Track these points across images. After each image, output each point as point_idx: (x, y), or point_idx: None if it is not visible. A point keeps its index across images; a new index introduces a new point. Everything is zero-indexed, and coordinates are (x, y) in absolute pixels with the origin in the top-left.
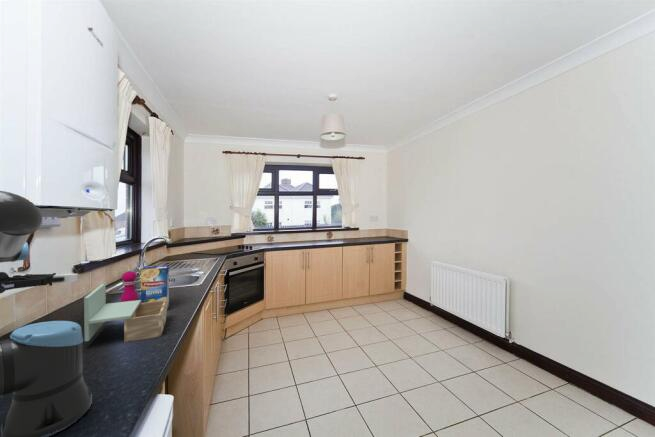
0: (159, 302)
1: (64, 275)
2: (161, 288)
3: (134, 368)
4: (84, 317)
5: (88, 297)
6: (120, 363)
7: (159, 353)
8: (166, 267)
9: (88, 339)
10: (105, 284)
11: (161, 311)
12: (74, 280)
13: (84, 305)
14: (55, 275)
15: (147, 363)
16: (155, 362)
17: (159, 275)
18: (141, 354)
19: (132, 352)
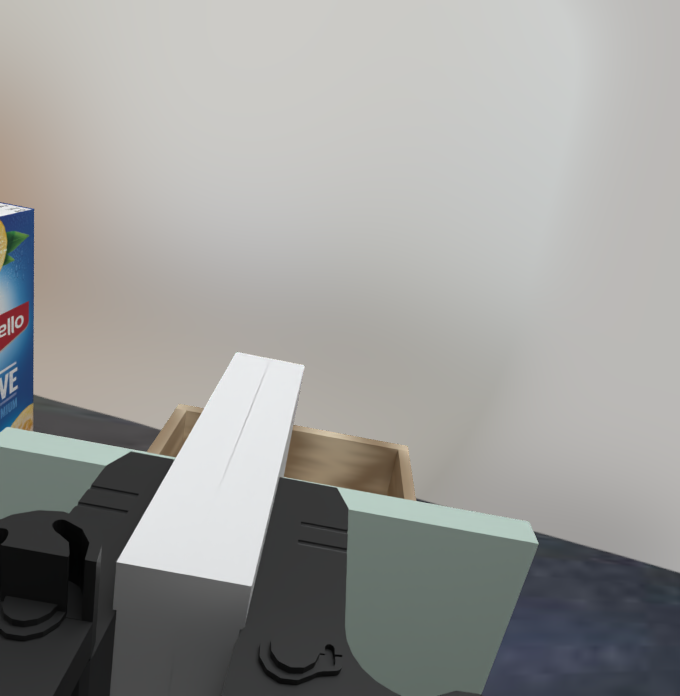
0: (179, 427)
1: (283, 448)
2: (15, 360)
3: (653, 628)
4: (480, 692)
5: (527, 521)
6: (614, 671)
7: (543, 559)
8: (18, 207)
9: None
10: (11, 434)
11: (364, 439)
12: (284, 468)
13: (512, 604)
14: (209, 549)
15: (616, 593)
16: (609, 574)
17: (7, 270)
18: (541, 605)
19: (516, 631)
